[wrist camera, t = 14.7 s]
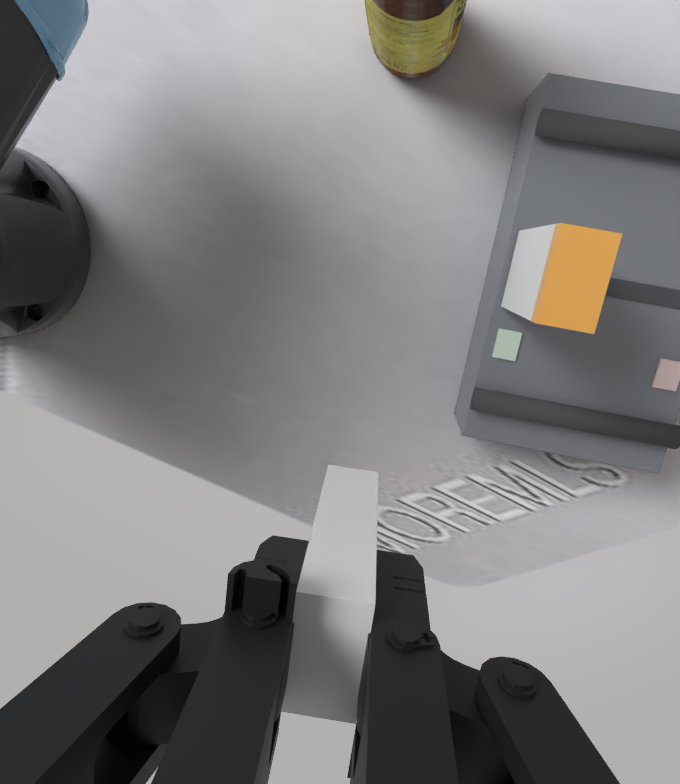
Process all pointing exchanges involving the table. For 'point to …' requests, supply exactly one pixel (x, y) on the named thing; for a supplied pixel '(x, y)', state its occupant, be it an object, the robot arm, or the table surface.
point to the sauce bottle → (413, 33)
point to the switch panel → (624, 292)
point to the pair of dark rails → (564, 415)
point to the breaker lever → (561, 275)
